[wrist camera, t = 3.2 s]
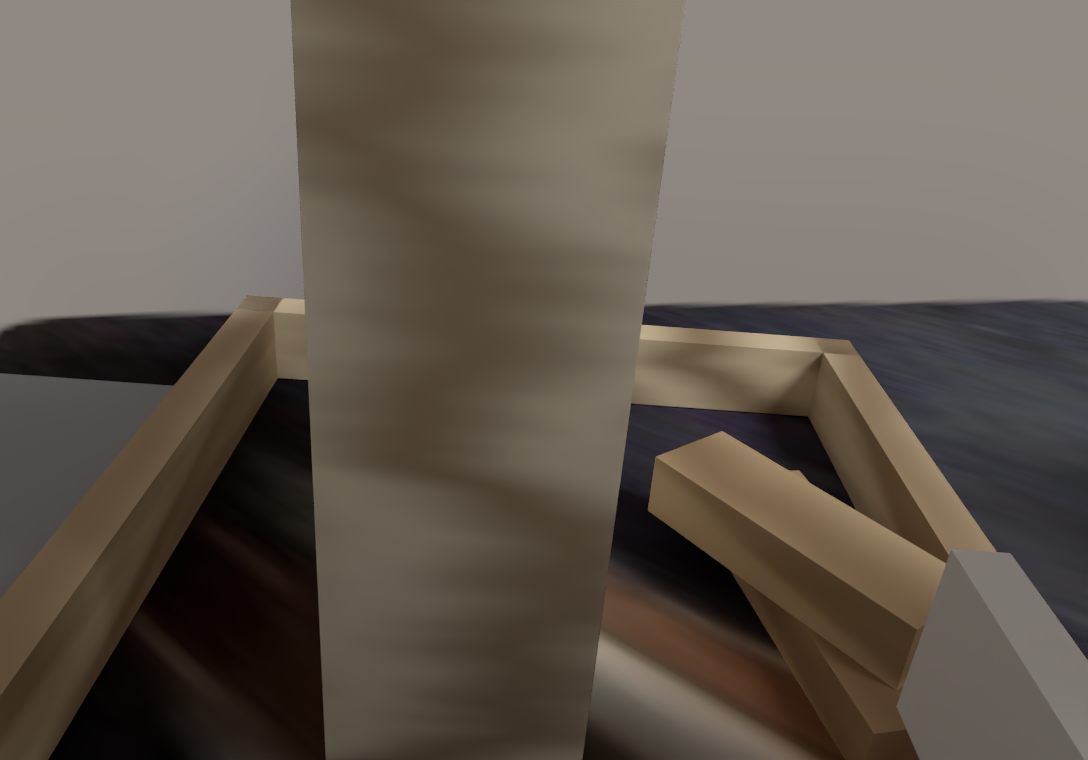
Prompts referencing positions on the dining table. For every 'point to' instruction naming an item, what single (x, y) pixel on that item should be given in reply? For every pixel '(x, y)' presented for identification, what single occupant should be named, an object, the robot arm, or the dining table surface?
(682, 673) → the dining table surface
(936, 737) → the robot arm
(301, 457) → the dining table surface
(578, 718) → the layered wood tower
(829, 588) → the offcut upper
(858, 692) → the offcut lower
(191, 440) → the wooden frame
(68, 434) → the slate board
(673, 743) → the dining table surface
